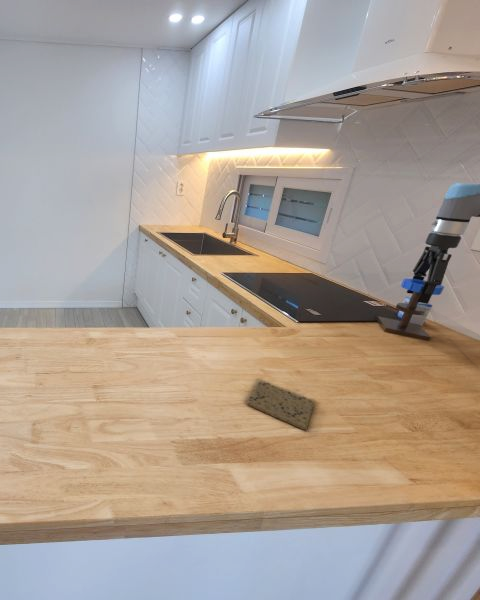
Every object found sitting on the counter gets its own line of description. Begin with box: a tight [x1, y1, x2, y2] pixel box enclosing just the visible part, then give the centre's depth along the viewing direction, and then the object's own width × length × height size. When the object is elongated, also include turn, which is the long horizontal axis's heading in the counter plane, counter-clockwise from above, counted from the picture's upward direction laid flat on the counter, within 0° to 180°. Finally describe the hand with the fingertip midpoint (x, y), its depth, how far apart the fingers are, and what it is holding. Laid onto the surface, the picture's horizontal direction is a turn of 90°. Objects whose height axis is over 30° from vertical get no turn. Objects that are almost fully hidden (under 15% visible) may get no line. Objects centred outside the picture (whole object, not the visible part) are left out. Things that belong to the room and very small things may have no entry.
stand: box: [375, 292, 431, 342], centre depth 119 cm, size 12×12×15 cm
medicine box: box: [397, 295, 433, 327], centre depth 128 cm, size 8×4×9 cm, turn 164°
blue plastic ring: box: [400, 278, 445, 296], centre depth 115 cm, size 10×10×2 cm
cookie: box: [246, 380, 315, 431], centre depth 77 cm, size 12×12×1 cm
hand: (416, 297), depth 117 cm, fingers closed on blue plastic ring, 10 cm apart
